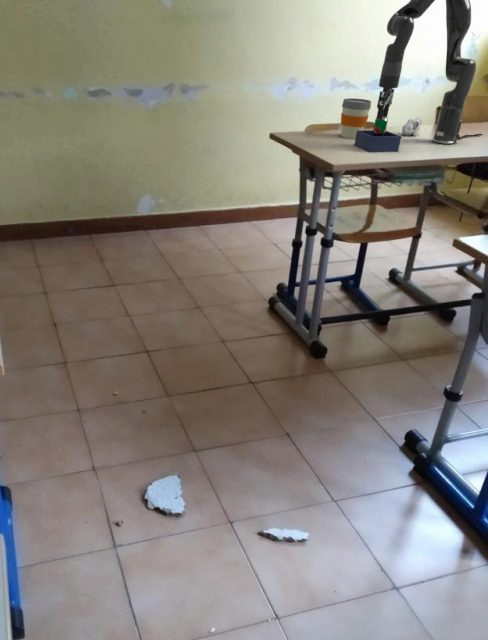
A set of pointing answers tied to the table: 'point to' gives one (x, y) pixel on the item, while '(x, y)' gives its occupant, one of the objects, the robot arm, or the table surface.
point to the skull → (411, 127)
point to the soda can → (380, 127)
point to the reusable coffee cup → (354, 116)
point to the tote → (377, 141)
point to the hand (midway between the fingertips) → (381, 118)
